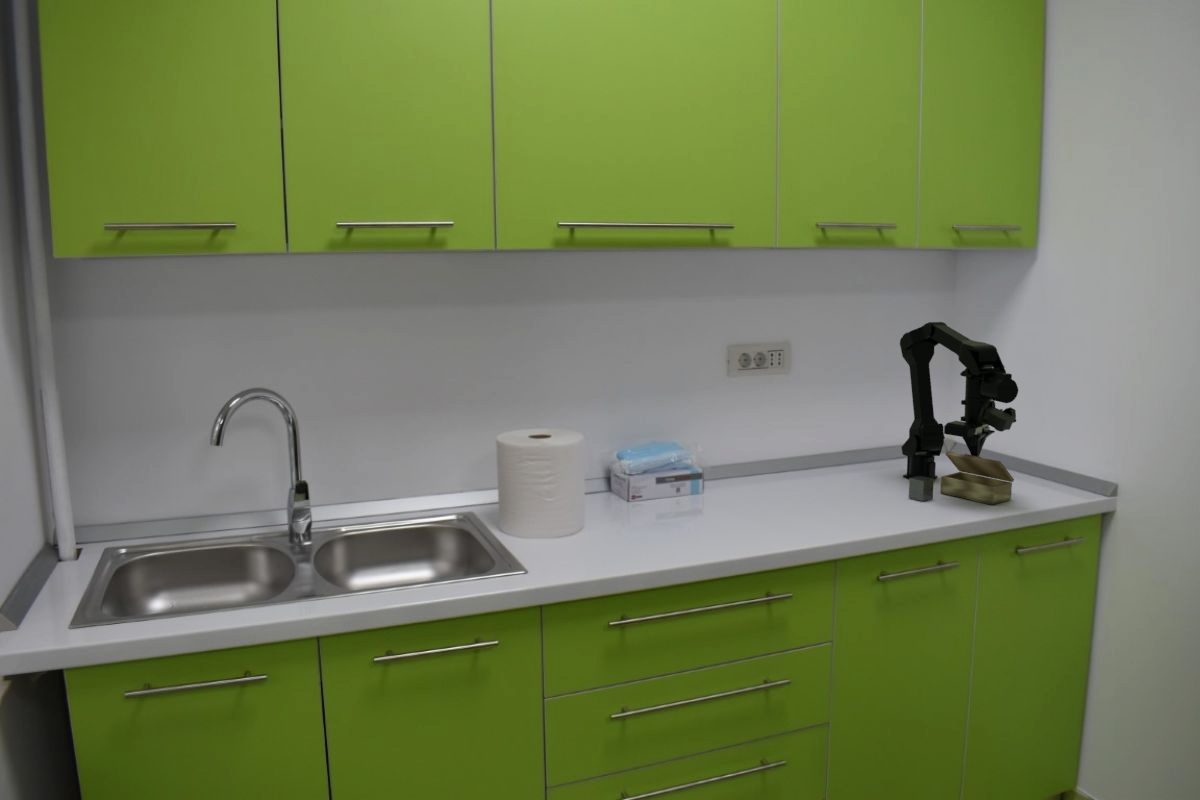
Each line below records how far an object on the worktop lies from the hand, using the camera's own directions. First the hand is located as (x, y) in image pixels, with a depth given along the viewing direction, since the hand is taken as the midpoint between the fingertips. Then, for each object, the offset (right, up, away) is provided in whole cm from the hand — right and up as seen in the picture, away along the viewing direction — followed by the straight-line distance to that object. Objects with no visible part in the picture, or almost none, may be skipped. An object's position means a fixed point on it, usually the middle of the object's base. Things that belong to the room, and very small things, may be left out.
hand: (975, 458), depth 214 cm
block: (-13, -10, +1) cm, 17 cm away
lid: (+1, -2, +1) cm, 3 cm away
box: (+1, -9, +2) cm, 10 cm away
